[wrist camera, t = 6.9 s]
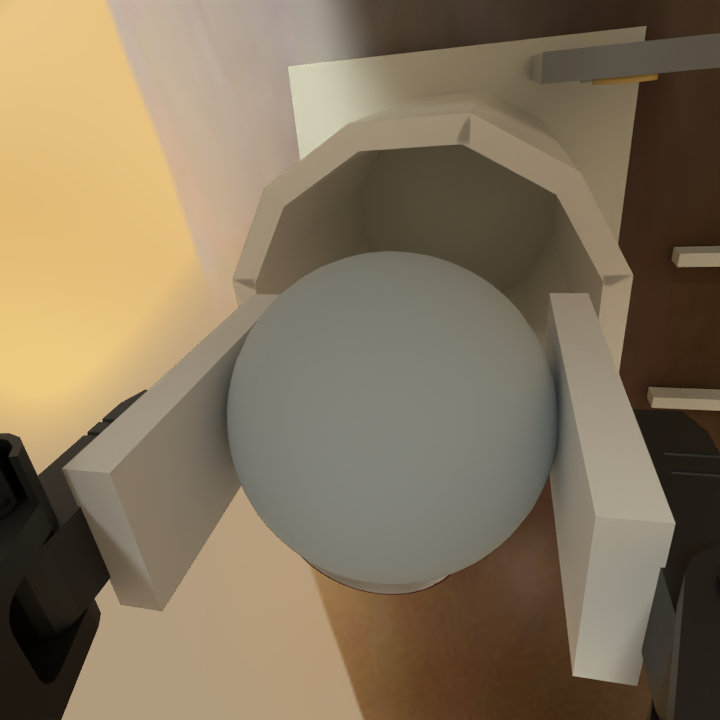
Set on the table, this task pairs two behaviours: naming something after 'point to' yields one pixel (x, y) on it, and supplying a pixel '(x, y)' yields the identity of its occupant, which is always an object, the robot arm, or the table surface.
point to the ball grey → (392, 417)
